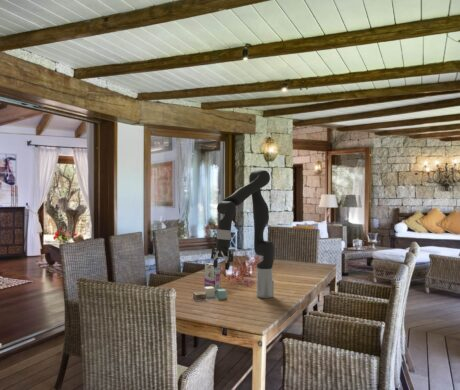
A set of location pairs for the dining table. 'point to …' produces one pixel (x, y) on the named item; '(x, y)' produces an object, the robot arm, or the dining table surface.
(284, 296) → the dining table surface
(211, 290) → the cream cube
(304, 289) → the dining table surface
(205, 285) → the candy bar box
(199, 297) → the walnut base
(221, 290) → the teal cube
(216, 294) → the board
